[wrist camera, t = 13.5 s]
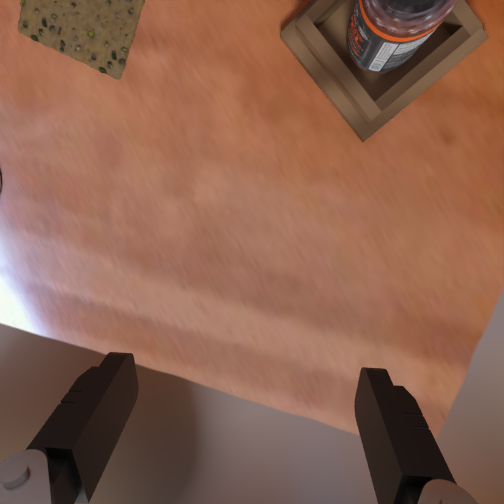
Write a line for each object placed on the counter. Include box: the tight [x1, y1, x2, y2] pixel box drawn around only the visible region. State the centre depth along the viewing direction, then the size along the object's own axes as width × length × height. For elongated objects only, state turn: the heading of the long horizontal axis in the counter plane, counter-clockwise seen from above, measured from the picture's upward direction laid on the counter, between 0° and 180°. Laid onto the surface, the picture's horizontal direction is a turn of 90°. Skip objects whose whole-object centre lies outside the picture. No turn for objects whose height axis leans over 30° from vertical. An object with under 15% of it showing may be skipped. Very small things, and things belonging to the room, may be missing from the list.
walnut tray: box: [280, 0, 489, 142], centre depth 27 cm, size 12×12×3 cm
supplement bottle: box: [346, 0, 458, 74], centre depth 22 cm, size 6×6×11 cm
